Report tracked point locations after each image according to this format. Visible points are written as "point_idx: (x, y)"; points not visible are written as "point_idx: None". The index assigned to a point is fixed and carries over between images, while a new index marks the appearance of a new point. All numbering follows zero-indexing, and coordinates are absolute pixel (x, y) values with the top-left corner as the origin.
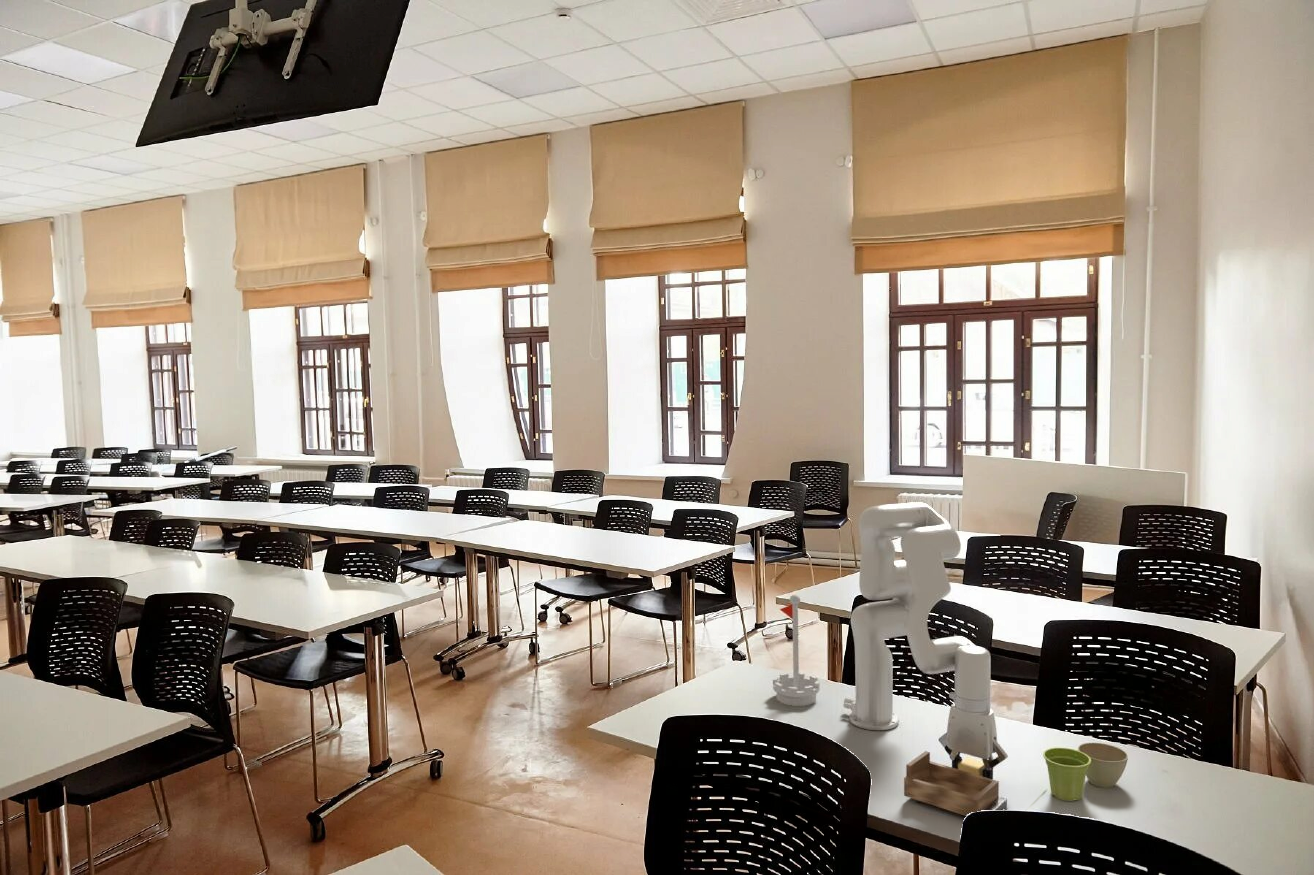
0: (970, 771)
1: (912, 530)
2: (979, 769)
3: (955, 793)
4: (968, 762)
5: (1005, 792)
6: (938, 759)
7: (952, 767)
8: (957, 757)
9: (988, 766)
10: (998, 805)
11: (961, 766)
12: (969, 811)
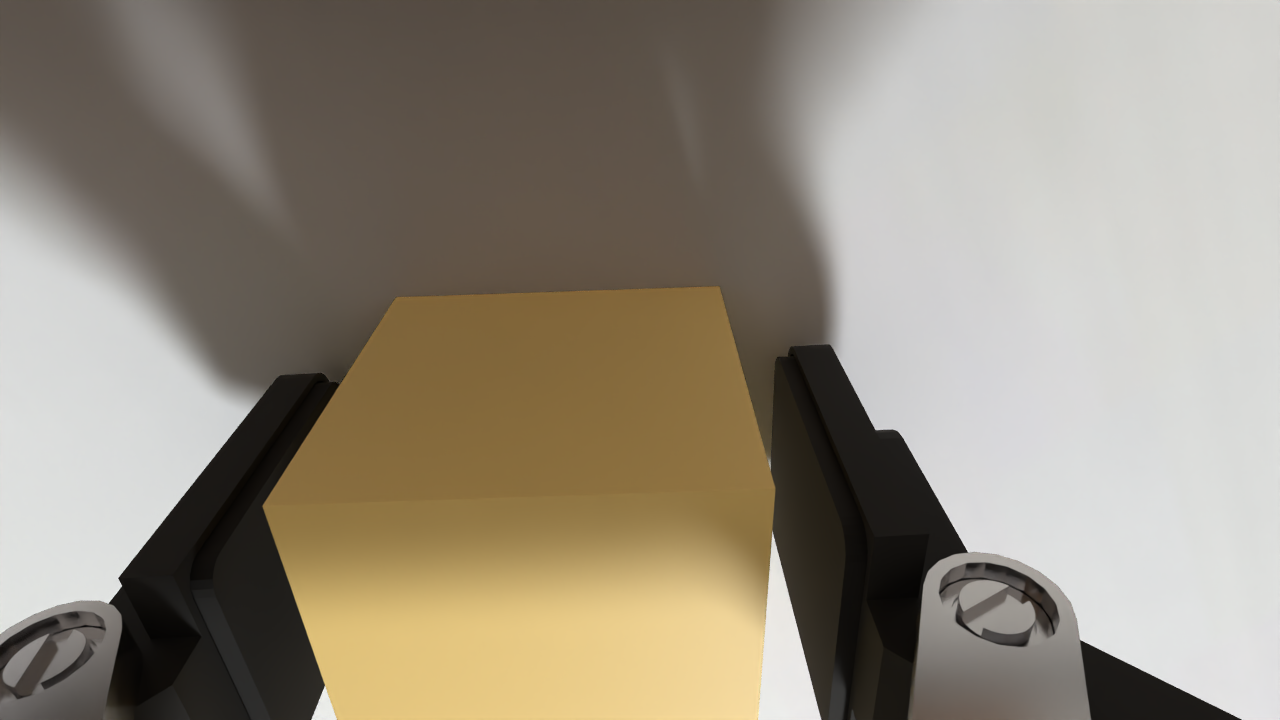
0: (465, 442)
1: None
2: (298, 566)
3: None
4: (625, 662)
5: (86, 457)
6: (1169, 668)
7: (908, 470)
8: (882, 674)
9: (17, 696)
10: None
11: (683, 466)
12: None
